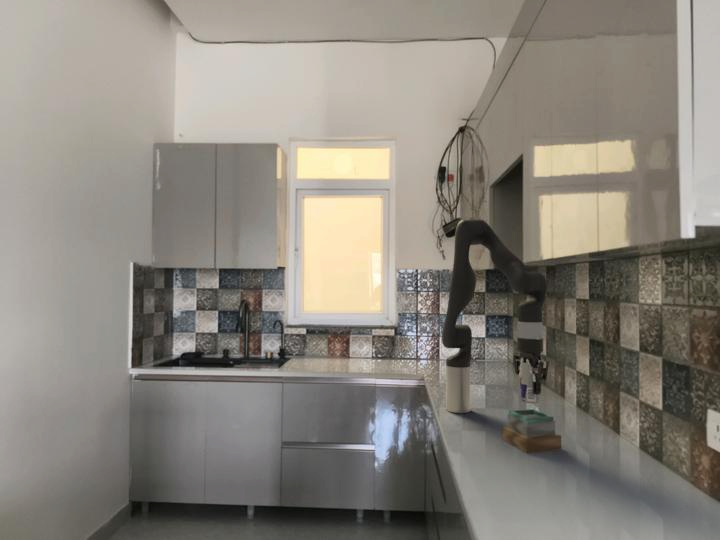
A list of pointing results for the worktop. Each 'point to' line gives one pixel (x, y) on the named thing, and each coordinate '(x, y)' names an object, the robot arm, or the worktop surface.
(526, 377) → the energy drink
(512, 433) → the square stepped box
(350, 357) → the worktop surface
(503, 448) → the worktop surface
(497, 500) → the worktop surface
